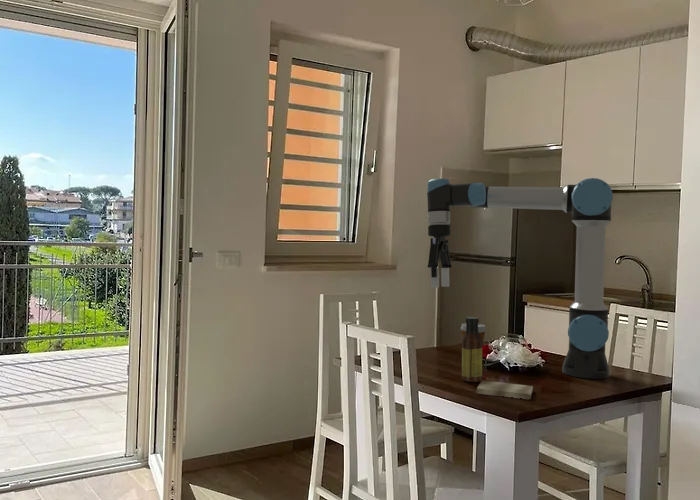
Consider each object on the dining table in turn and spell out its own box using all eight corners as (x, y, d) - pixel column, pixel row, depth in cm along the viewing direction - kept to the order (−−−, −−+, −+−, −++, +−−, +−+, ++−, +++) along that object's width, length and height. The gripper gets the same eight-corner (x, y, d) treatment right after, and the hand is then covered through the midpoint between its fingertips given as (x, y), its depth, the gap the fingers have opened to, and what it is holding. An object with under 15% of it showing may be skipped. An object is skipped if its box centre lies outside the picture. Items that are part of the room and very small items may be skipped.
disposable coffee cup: (487, 359, 244) (488, 327, 244) (461, 358, 244) (462, 326, 244) (482, 354, 254) (483, 323, 253) (457, 353, 254) (458, 322, 253)
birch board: (532, 391, 197) (533, 386, 197) (530, 399, 187) (530, 394, 187) (481, 385, 202) (482, 380, 202) (476, 393, 192) (476, 388, 192)
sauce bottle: (483, 379, 210) (485, 317, 210) (480, 384, 204) (483, 319, 204) (462, 377, 212) (465, 315, 212) (459, 381, 206) (461, 317, 206)
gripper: (438, 227, 239) (439, 286, 239) (417, 222, 216) (419, 287, 216) (458, 226, 237) (459, 286, 236) (440, 221, 214) (441, 287, 213)
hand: (440, 287), depth 226 cm, fingers open, 13 cm apart
